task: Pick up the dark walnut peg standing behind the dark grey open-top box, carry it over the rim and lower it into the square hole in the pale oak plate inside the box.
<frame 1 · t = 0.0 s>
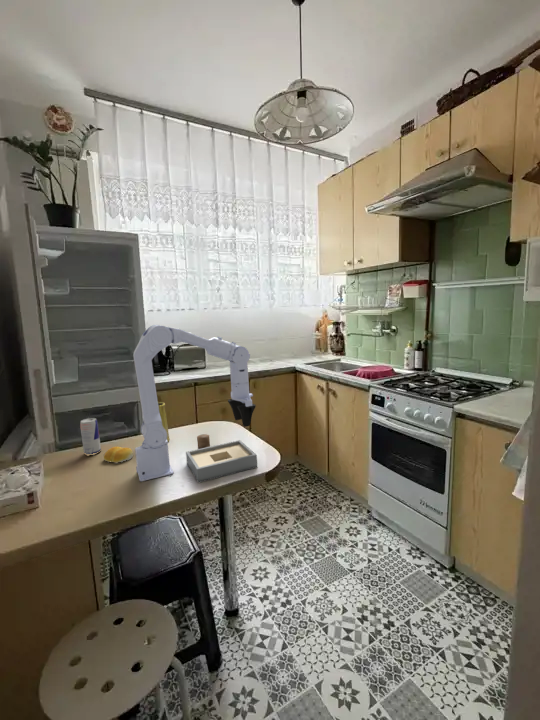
hand: (242, 422, 118), 10 cm above the table, tool pointing down, fingers open, 7 cm apart
socket box: (221, 465, 109), on the table
bread roll: (119, 459, 119), on the table
walnut peg: (204, 453, 119), on the table
energy drink: (92, 453, 125), on the table
vase: (161, 441, 133), on the table
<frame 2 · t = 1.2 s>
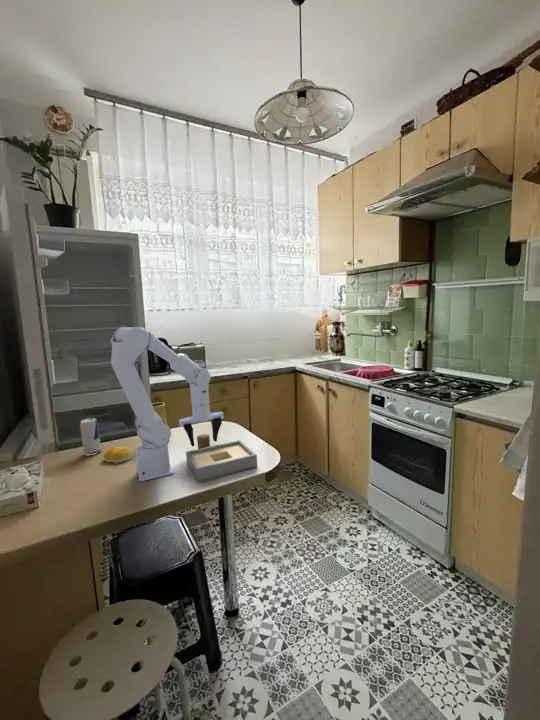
hand: (203, 442, 119), 4 cm above the table, tool pointing down, fingers open, 7 cm apart
nothing on the table moved.
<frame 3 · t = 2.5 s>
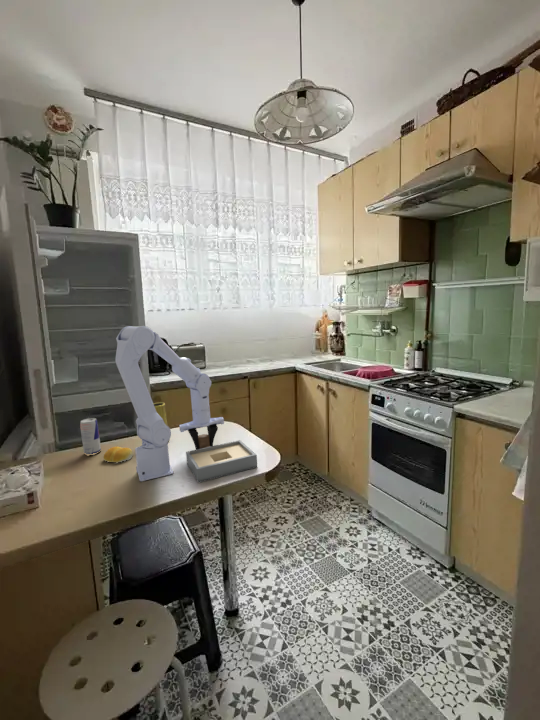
hand: (204, 448, 119), 2 cm above the table, tool pointing down, fingers closed on walnut peg, 4 cm apart
walnut peg: (204, 453, 119), on the table, touching gripper
everything else where it was.
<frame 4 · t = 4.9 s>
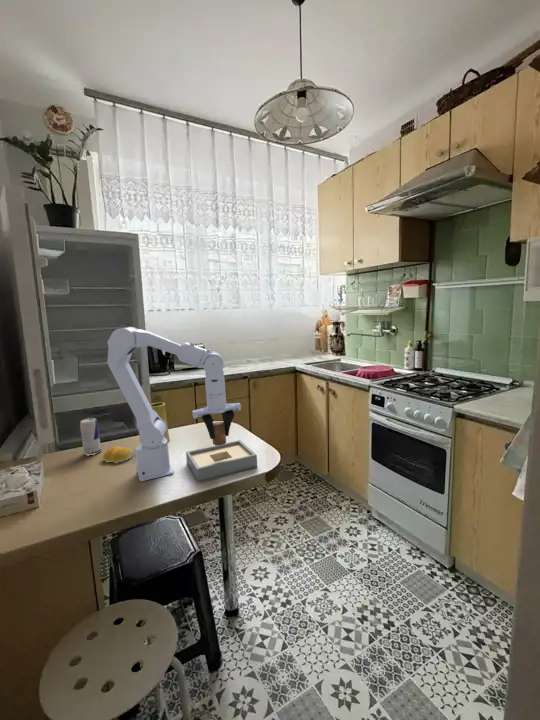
hand: (219, 436, 108), 9 cm above the table, tool pointing down, fingers closed on walnut peg, 4 cm apart
walnut peg: (219, 442, 108), point 7 cm above the table, touching gripper
everything else where it was.
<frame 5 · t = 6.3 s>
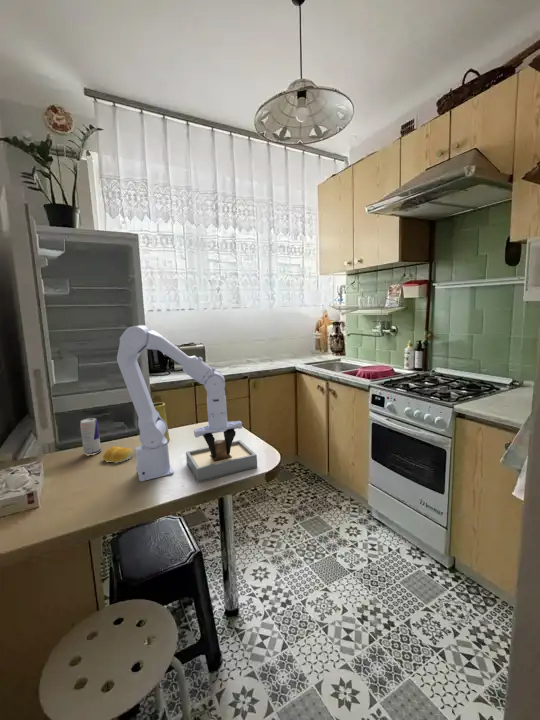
hand: (220, 454, 109), 4 cm above the table, tool pointing down, fingers closed on walnut peg, 4 cm apart
walnut peg: (220, 460, 109), point 2 cm above the table, touching gripper
everything else where it was.
when the fingers open (3 cm above the table, at t = 7.3 s): walnut peg stays where it is, resting on socket box.
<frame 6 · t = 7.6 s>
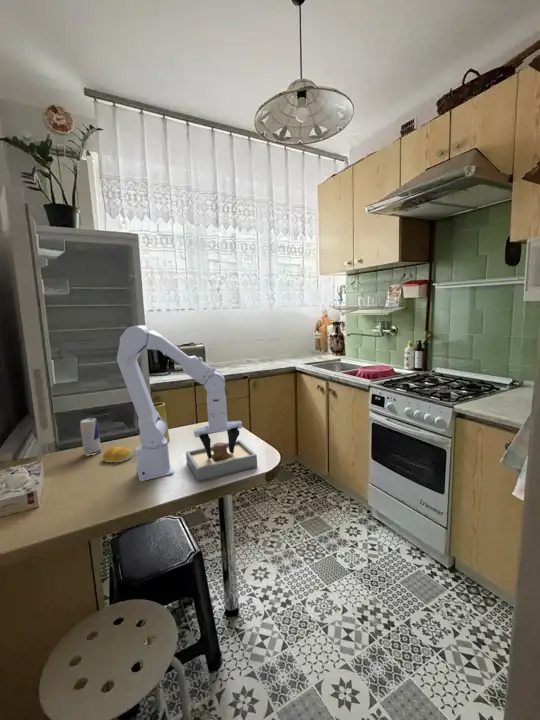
hand: (220, 454, 109), 4 cm above the table, tool pointing down, fingers open, 6 cm apart
walnut peg: (221, 463, 109), point 1 cm above the table, touching socket box
everything else where it was.
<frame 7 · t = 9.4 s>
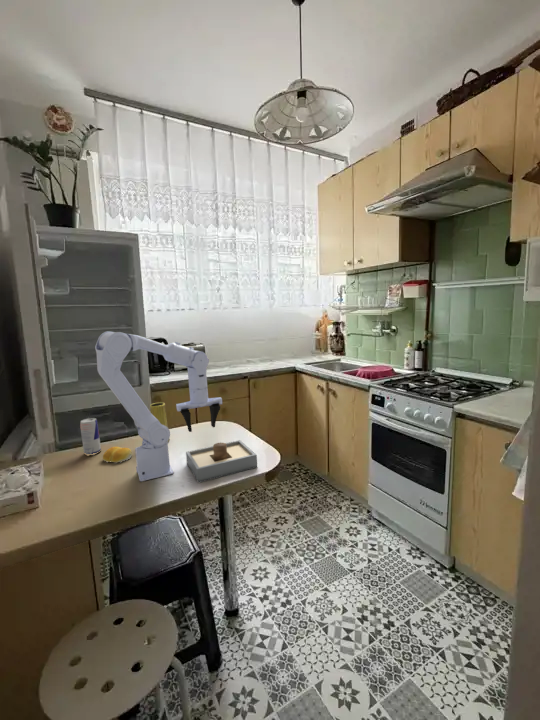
hand: (201, 428, 116), 9 cm above the table, tool pointing down, fingers open, 7 cm apart
nothing on the table moved.
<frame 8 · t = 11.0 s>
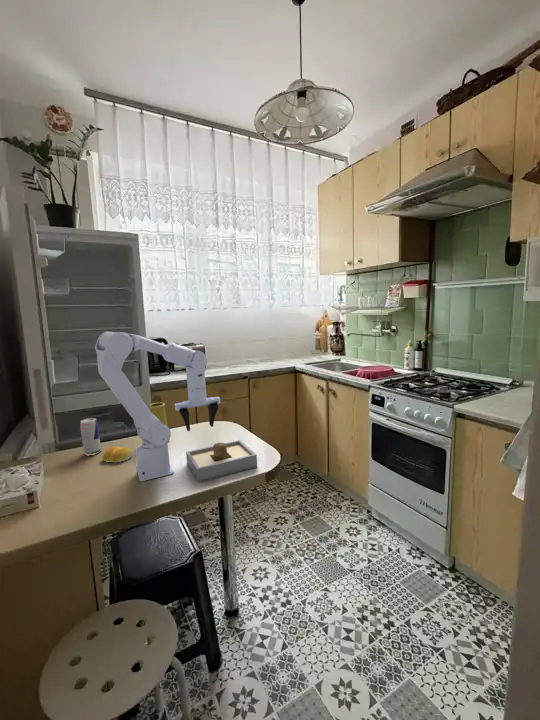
hand: (200, 428, 117), 9 cm above the table, tool pointing down, fingers open, 7 cm apart
nothing on the table moved.
at the end: walnut peg 0.1 cm off-centre on the socket box, point 0.6 cm above the socket box's base; walnut peg tilted 0°; the gripper is holding nothing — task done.
